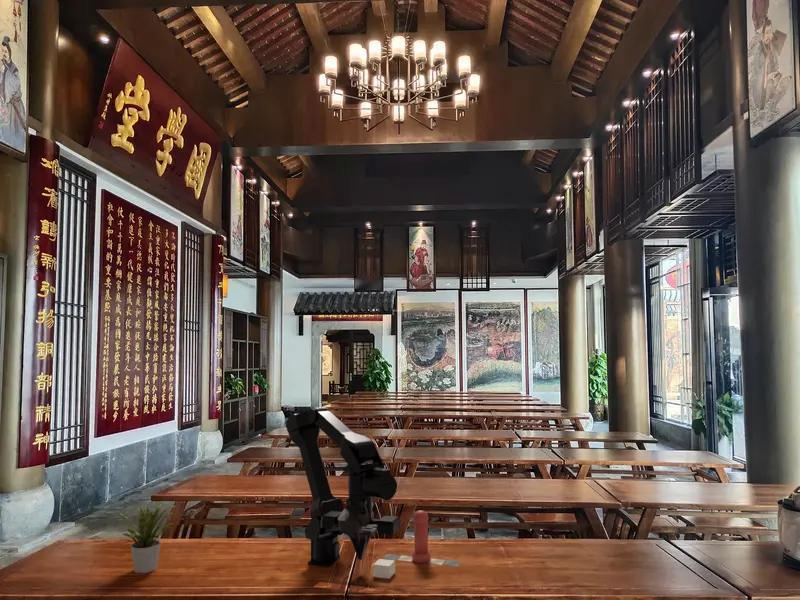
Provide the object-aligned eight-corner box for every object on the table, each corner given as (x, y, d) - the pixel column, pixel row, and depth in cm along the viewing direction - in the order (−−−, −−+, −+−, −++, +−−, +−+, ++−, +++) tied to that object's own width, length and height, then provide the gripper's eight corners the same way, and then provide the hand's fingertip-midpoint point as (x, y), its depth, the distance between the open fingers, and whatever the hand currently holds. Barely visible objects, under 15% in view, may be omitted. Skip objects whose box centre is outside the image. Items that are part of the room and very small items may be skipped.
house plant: (192, 564, 159) (193, 498, 160) (150, 583, 146) (151, 512, 147) (151, 556, 165) (152, 493, 166) (107, 574, 152) (108, 506, 153)
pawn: (409, 562, 156) (409, 512, 156) (415, 556, 160) (414, 507, 161) (427, 564, 154) (426, 513, 155) (432, 557, 158) (431, 508, 159)
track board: (378, 565, 156) (378, 561, 156) (389, 555, 164) (389, 551, 164) (456, 574, 150) (456, 569, 150) (463, 563, 157) (463, 558, 158)
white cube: (373, 581, 146) (373, 564, 146) (379, 575, 150) (379, 558, 150) (389, 583, 145) (389, 566, 145) (395, 577, 149) (395, 560, 149)
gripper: (310, 498, 146) (310, 566, 145) (385, 503, 140) (385, 575, 139) (330, 487, 157) (330, 551, 155) (400, 492, 151) (401, 558, 150)
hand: (360, 559), depth 150 cm, fingers closed
